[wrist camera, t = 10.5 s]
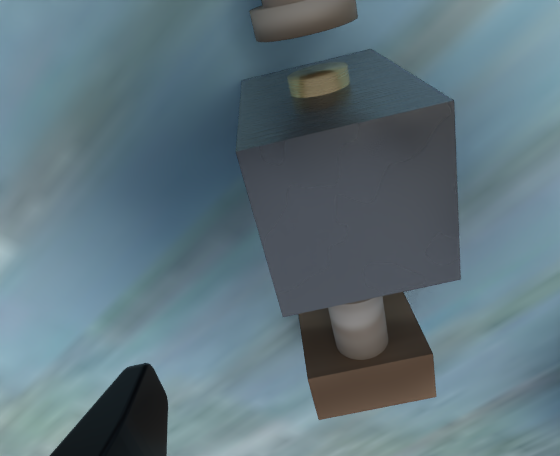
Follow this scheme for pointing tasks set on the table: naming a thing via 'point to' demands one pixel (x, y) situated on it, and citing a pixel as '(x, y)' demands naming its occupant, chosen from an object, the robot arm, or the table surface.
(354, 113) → the coupling block
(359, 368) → the shaft stand
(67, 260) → the table surface
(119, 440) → the robot arm
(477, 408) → the table surface
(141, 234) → the table surface
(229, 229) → the table surface
